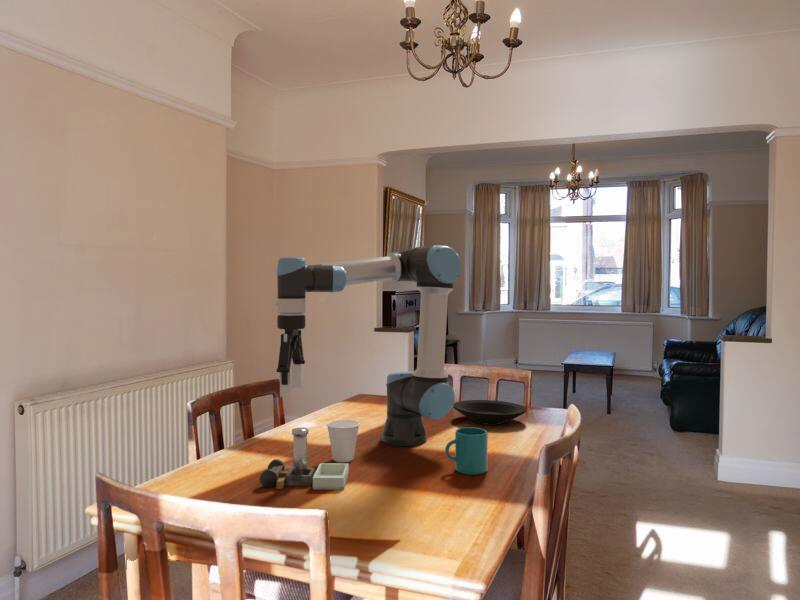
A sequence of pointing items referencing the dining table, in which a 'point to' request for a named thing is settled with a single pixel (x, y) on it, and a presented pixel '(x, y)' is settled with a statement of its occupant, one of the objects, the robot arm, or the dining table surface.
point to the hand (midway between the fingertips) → (291, 392)
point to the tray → (331, 476)
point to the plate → (489, 410)
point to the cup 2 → (469, 450)
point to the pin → (300, 450)
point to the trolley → (277, 471)
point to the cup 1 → (343, 439)
